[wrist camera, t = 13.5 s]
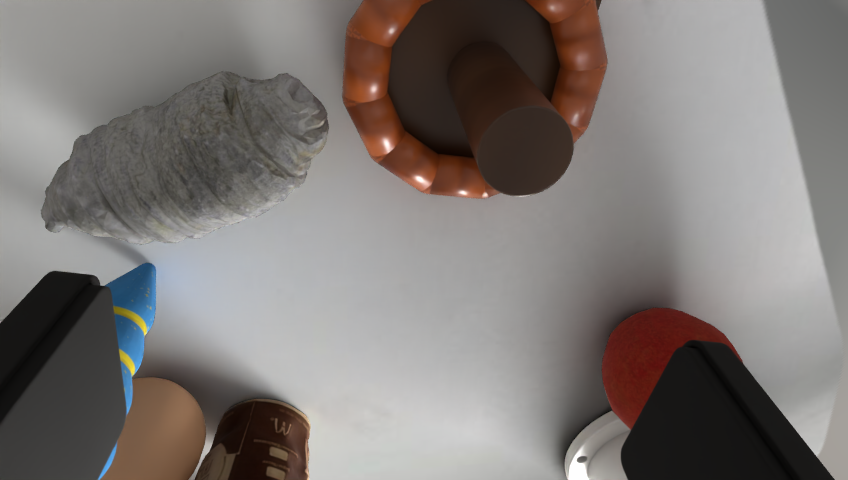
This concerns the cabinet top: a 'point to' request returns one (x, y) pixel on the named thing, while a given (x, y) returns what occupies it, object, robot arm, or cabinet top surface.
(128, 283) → the ornament
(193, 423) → the egg
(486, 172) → the ring stand
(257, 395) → the cabinet top surface
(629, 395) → the apple
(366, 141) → the ring
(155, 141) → the seashell
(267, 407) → the coffee cup
